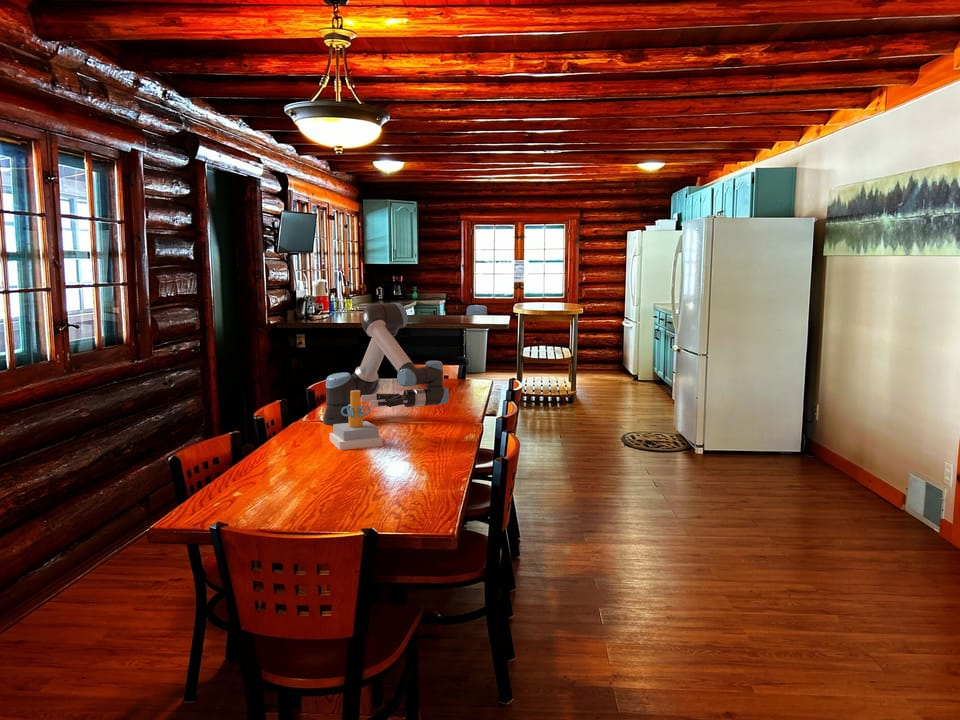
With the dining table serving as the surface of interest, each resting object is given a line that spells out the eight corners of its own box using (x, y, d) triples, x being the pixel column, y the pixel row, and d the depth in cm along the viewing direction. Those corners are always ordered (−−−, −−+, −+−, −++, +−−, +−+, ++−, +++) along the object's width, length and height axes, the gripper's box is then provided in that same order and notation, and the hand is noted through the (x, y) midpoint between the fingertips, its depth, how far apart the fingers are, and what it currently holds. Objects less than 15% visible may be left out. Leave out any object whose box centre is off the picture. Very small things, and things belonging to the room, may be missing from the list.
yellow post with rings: (362, 429, 298) (362, 393, 296) (338, 428, 300) (338, 392, 298) (372, 423, 310) (372, 389, 308) (349, 422, 312) (349, 388, 310)
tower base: (329, 442, 310) (329, 433, 310) (370, 438, 317) (370, 429, 317) (339, 451, 294) (339, 442, 293) (382, 447, 301) (382, 437, 301)
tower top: (333, 433, 309) (333, 424, 308) (367, 429, 315) (366, 420, 315) (343, 441, 295) (343, 431, 295) (378, 437, 302) (378, 427, 302)
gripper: (422, 411, 302) (373, 415, 294) (405, 401, 325) (358, 405, 317) (422, 393, 301) (373, 397, 293) (404, 385, 324) (358, 388, 316)
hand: (365, 401), depth 305 cm, fingers open, 13 cm apart
